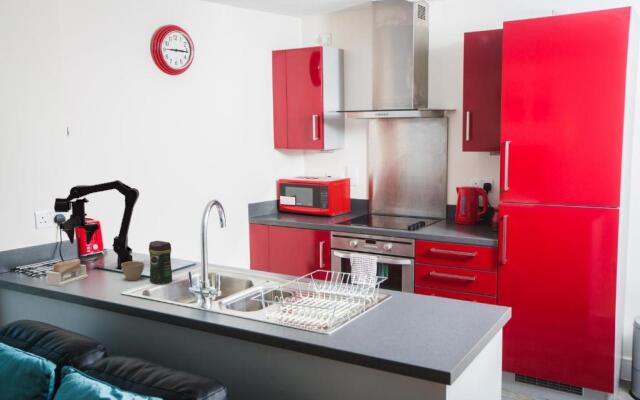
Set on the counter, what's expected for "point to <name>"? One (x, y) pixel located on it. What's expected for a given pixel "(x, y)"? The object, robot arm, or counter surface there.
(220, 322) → the counter surface
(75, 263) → the tan wooden bar
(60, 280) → the stand
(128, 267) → the flower pot
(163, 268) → the coffee jar
